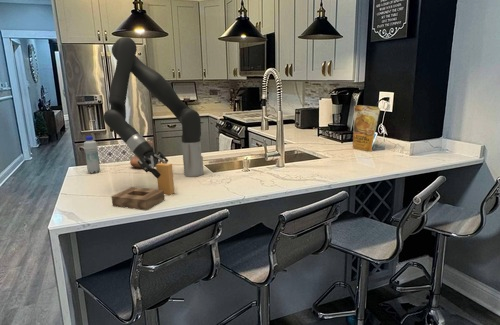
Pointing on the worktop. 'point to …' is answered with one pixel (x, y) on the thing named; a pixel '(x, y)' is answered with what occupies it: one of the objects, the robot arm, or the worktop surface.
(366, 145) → the pancake mix bag
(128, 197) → the slotted box
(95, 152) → the bottle
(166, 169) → the tan rectangular block
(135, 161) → the reddish brown vase
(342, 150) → the worktop surface
